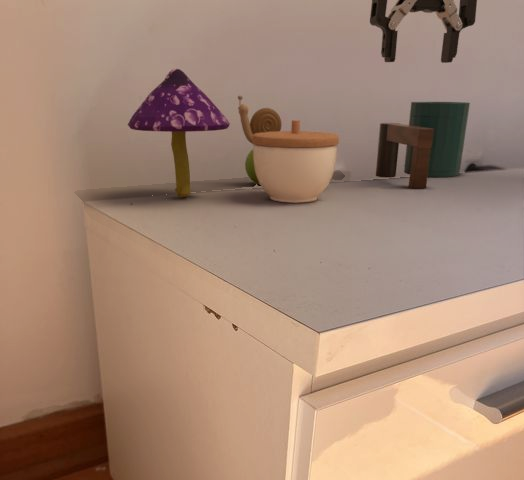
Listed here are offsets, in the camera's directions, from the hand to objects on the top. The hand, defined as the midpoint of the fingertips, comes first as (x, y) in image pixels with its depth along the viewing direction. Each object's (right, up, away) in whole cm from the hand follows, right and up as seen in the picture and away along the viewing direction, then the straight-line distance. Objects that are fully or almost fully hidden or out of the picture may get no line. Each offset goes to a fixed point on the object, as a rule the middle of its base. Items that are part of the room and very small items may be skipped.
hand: (418, 62), depth 79 cm
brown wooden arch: (-1, -14, +9) cm, 16 cm away
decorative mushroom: (-32, -21, -6) cm, 39 cm away
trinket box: (-18, -21, -6) cm, 28 cm away
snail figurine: (-22, -16, +5) cm, 28 cm away
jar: (+7, -10, +17) cm, 21 cm away
